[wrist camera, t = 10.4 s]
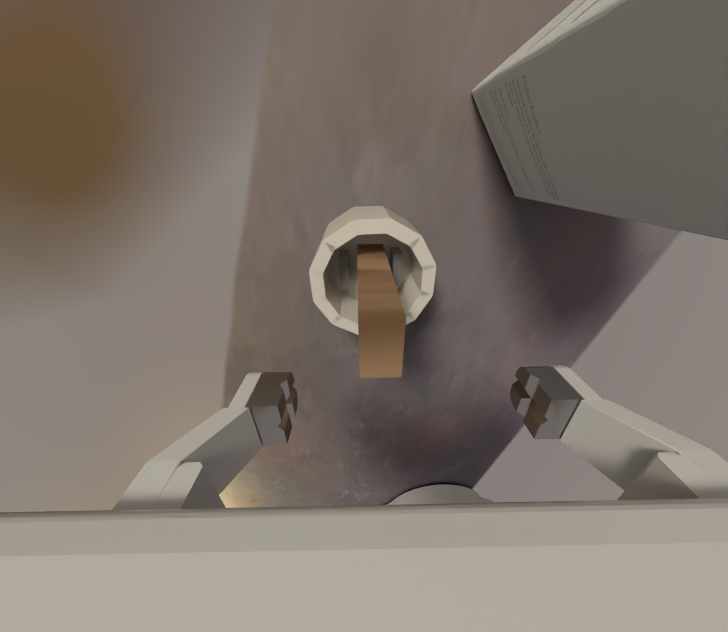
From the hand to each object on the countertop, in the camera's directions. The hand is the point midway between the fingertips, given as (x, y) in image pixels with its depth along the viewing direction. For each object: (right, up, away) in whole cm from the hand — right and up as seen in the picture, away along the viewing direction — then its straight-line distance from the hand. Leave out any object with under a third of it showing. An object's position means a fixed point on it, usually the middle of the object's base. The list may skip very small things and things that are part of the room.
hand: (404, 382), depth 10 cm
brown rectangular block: (-1, +6, +10) cm, 11 cm away
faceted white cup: (-1, +7, +10) cm, 12 cm away
